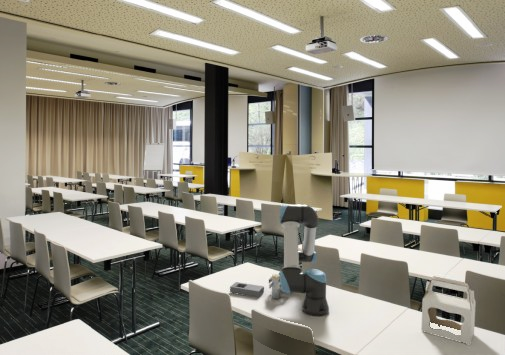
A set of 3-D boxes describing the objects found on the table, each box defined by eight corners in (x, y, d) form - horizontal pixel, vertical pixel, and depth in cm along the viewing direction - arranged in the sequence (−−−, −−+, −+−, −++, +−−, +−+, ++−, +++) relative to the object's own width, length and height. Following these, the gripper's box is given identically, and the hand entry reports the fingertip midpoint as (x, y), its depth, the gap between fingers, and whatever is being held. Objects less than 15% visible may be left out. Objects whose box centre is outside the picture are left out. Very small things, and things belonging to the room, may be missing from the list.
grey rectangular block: (263, 292, 244) (263, 286, 243) (258, 297, 236) (258, 291, 235) (236, 287, 251) (235, 282, 251) (230, 292, 243) (230, 286, 243)
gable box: (420, 331, 193) (422, 278, 191) (427, 321, 203) (429, 271, 201) (470, 345, 179) (473, 288, 177) (474, 334, 190) (477, 280, 187)
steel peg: (280, 296, 237) (281, 274, 236) (278, 298, 233) (278, 276, 232) (274, 295, 239) (274, 273, 238) (271, 297, 235) (271, 275, 233)
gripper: (297, 282, 249) (287, 295, 227) (272, 278, 255) (260, 290, 234) (297, 271, 248) (287, 282, 226) (272, 267, 255) (260, 279, 233)
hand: (273, 286), depth 230 cm, fingers closed on steel peg, 4 cm apart
